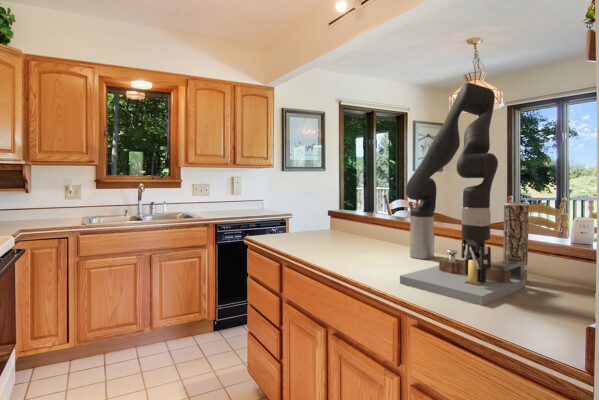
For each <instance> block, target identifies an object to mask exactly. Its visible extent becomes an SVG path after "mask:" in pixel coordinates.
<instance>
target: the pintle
mask: <svg viewBox="0 0 599 400" xmlns="http://www.w3.org/2000/svg"><path fill="white" fill-rule="evenodd" d="M446 253H447V254H448V258H449V261H452V262H455V259H456V255H457V254H458V250H457V249H447V250H446Z"/></svg>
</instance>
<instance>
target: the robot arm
mask: <svg viewBox="0 0 599 400" xmlns="http://www.w3.org/2000/svg"><path fill="white" fill-rule="evenodd" d="M495 97H496V95H495V91H494V90H492V89H491V88H488V87H486V86H484V85H483V86H482V85H478V84H476V83H473V82H466V83H464V85H462V87H461V88H460V90H459V91H458V93H457V95H456V97H455V99H454V101H453V103H452V105H451V108H450V110H449V112H448V114H447V116H446V119H444V122H443V124H442V125H441V127H440V129H439V131H438V133H437V134H436V136H435V137H434V139H433V140H432V142H431V145H430V146H429V147H428V150H427V152H426V154H425V156H424V158H423V159H422V160H421V163H420V164H419V166H418V167H417V168H416V170H415V171H414V172H413V174H412V175H411V177H410V178H409V180H408V181H407V183H406V187H405V194H406V197H407V198H408V199H410V200H413V201H414V200H415V201H419V204H418V205H417V206H414V207H412V208H411V209H410V212H409V213H410V214H409V215H410V218H409V220H410V223H409V225H410V227H409V228H410V229H409V234H410V235H409V241H410V242H409V243H410V244H409V245H410V246H409V249H410V250H409V257H410V258H412V259H420V260H422V259H423V260H429V259H433V258H434V257H435V234H434V221H435V220H434V218H435V217H434V213H435V210H436V203H437V202H436V201H437V184H436V182H435V180H434V179H433V178H431V177H432V176H433V175H434V174H436V173H437V172H438V171H440V170H441V169H444V167H446V166H447V165H448V164H449V163H450V162H451V161H452V160H453V158H454V156H455V155H456V153H457V152H458V150H459V148H460V143H461V139H460V132H459V119H460V115H461V114H462V112H465V113H468V114H471V115H474V116H478V118H476V119H475V120H473V121H472V122H471V123H469V125H467V127H466V128H465V131H464V134H463V136H464V137H463V148H462V151H461V153H460V155H459V157H458V159H457V162H456V172H457V175H459V176H460V177H461V178H464V179H483V180H482V181H481V183H479V184H476V185H471V186H466V187H465V188H464V189H463V191H462V210H461V211H462V212H461V235H460V236H461V239H462V240H461V259H463V261H464V262H465V274H467V275H468V260H473V261H474V262H476V265H477V282H479V283H485V282H486V269H490V268H491V264H492V255H491V254H492V249H491V246H486V243H485V242H486V241H490V240H491V221H492V220H491V219H492V218H491V210H490V209H491V191H492V186H493V183H494V182H493V181H494V178H495V176H496V173H497V170H498V166H499V161H498V158H497V156H496V155H495V154H493V153H492V152H489V151H490V148H491V147H490V146H491V142H490V141H491V140H490V129H491V128H490V127H491V123H492V117H493V113H494V106H495V102H496V101H495V99H496V98H495ZM479 262H480V263H479Z"/></svg>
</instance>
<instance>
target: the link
mask: <svg viewBox="0 0 599 400" xmlns="http://www.w3.org/2000/svg"><path fill="white" fill-rule="evenodd" d="M438 261H439V263H438V266H439V270H441V271H443V272H448V273H455V274H462V275H467V274H465V262H464V259H459V258H455V262H452V261H449V257H444V258H441V259H439V260H438ZM467 276H468V275H467ZM510 279H511V270H507V271H502V270H497V269H492V268H490V269H486V280H491V281H496V282H500V283H508V282H510Z"/></svg>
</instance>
